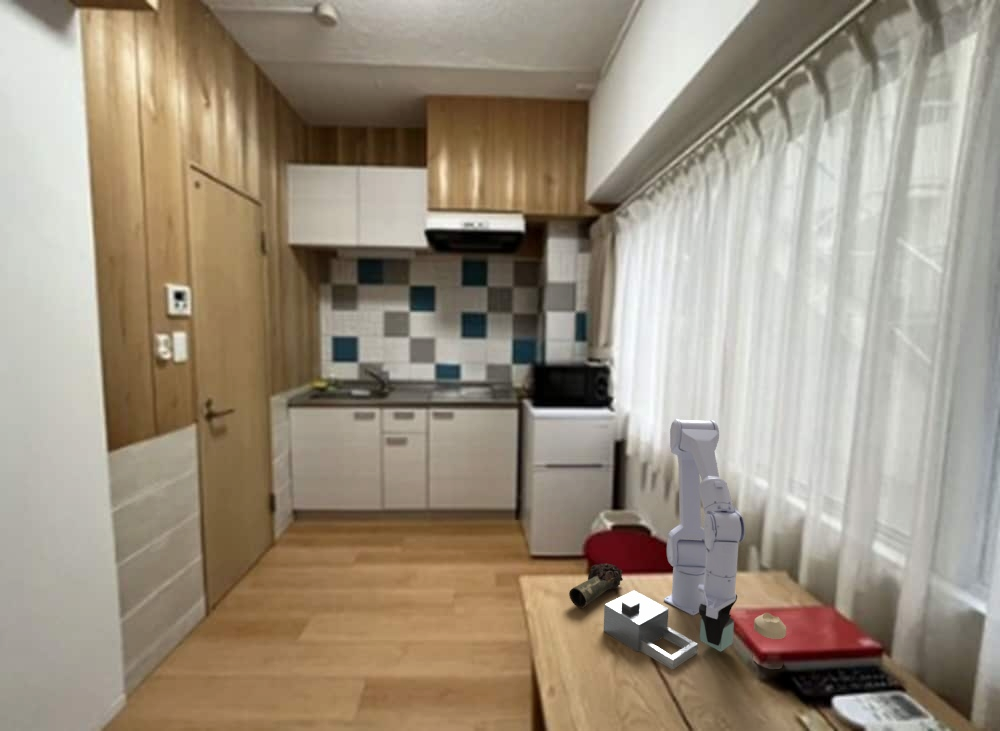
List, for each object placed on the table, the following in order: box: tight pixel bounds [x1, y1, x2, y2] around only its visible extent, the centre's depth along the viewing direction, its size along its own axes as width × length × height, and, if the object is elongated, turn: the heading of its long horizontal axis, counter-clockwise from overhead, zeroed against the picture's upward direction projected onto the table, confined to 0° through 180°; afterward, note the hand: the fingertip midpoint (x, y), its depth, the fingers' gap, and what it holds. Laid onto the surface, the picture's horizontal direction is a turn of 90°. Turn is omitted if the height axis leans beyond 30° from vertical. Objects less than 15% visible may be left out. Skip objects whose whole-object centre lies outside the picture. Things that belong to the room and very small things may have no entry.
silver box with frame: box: [603, 590, 699, 670], centre depth 107 cm, size 13×16×8 cm
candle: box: [753, 612, 787, 639], centre depth 99 cm, size 6×6×10 cm
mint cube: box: [699, 616, 735, 652], centre depth 103 cm, size 4×4×5 cm
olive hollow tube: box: [568, 563, 623, 609], centre depth 124 cm, size 18×7×6 cm, turn 136°
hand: (716, 635), depth 103 cm, fingers closed on mint cube, 6 cm apart
